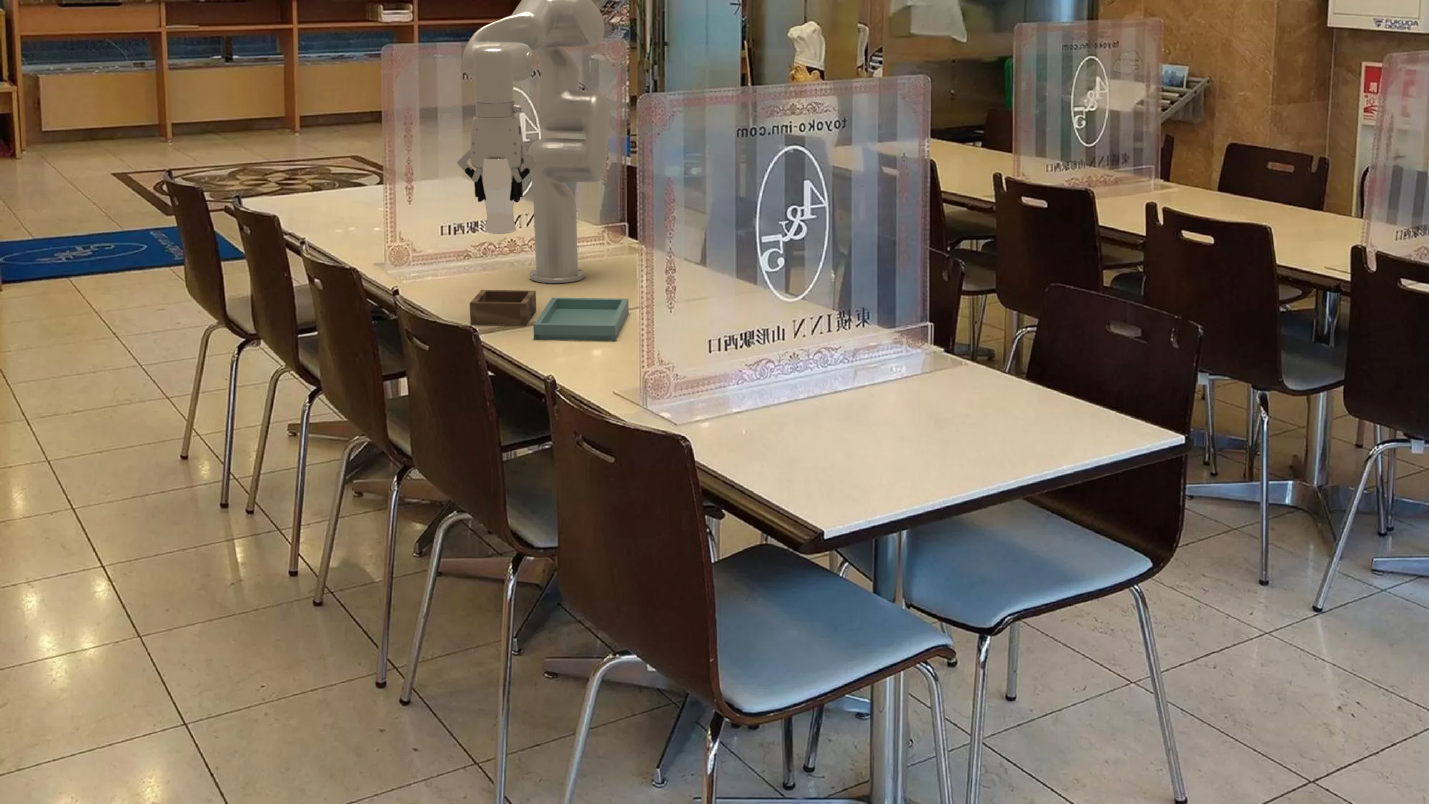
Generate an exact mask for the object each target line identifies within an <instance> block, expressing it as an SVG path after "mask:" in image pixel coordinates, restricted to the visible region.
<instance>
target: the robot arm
mask: <svg viewBox="0 0 1429 804" xmlns="http://www.w3.org/2000/svg"><path fill="white" fill-rule="evenodd" d="M604 36H605V21H604V18H603V15H602V13H601V11H600V9H599V8H598V7H597V6H596V4H595V2H593V0H521V1H520V2H519V4H518V5H517V6H516V8H515V10H514V11H513V12H512V14H511V15H509V16H505V17H503V18H501V19H499V20H496V21H494V22H491V23H489V24H486V25H484V26H483V27H482V26H481V27H480V28H478V30H476V31H475V32H474V33H473V34H472V36H471V38H470V39H469V40H468V42H467V43H466V46H465V47H464V51H463V54H462V66H463V67H462V68H463V71H464V72H465V75H467V77H469V78H470V79H473V82H474V83H473V85H474V103H475V116H474V117H473V118H472V123H471V128H470V129H471V131H470V132H471V133H470V149H469V150H468V151H467V152H466V153H465V154H464V155H463V156H462V157H461V158H460V159H459V160H457V165H458V166H459V167H460V169H462V171H464V173H465V174H466V175H467V176H468V177H469V178H470V179H471V180H472V182H473V183H474V197H475V198H477V202H478V203H481V202H483V201H484V196H483V192H482V186H481V168H482V165H483V158H488V159H504V158H507V160H508V164H509V167H510V168H511V169H512V171H513V176H514V178H515V182H514V183H513V190H514V203H519V202H520V201H521V198H523V196H524V189H523V180H524V179H525V178H526V177H527V176H528V175H530V179H531V185H532V198H533V224H534V245H535V246H534V247H535V248H534V250H535V253H534V254H535V269H532V270H531V271H530V272H529V273H528V274H529V279H530V280H531V281H534V282H537V283H545V284H564V283H573V282H577V281H581V280H582V279H585V277H586V272H585V270H584V269H581V268H579V265H578V264H579V261H578V233H577V231H578V229H577V228H578V227H577V223H578V222H577V202H576V197H575V195H574V193H573V191H572V190H571V189H570V187H569V186H568V185H567V183H597V182H601V180H603V178H604V175H605V174H606V168H607V160H608V146H609V145H608V144H609V132H610V131H609V129H610V107H609V103H608V99H607V98H606V96H605V95H604V94H603V93H602V92H599V91H597V90H583V89H582V90H581V89H580V90H579V77H580V76H579V74H580V69H579V67H578V64H577V63H576V61H575V60H574V58H573V57H572V56H571V54H570V53H569V52H568V51H567V49H566V48H567V47H568V48H569V47H570V48H594V47H596V46H598V45H599V44H601V42H602V40H603V38H604ZM565 47H566V48H565ZM535 54H536V55H535ZM536 57H537V59H538V64H539V68H540V80H539V92H538V93H539V94H538V105H537V106H538V107H537V120H538V124H539V127H540V128H541V129H542V130H543V131H545V132H548V133H554V134H573V135H574V134H578V135H585V138H566V137H565V138H564V137H562V138H561V137H546V138H539V139H537V140H536V141H533V142H532V143H531V144H530V145H529V148H528V151H527V150H525V149H524V140H523V133H522V132H523V130H522V126H521V122H520V117H519V116H515V115H516V113H517V114H518V113H521V112H522V105H521V104H517V103H516V101H515V100H514V99H515V98H514V81H516V82H522V81H525V80H528V79H529V78H530V77H532V75H533V73H534V71H535V68H536V64H537V63H536V62H537V60H536ZM469 160H470V164H471V166H472V167H471V166H470V165H469V164H468V162H469ZM525 161H526V163H527V165H526V166H525V168H524V169H523V170H521V166H522V165H523V164H524V162H525ZM474 168H475V169H474Z"/></svg>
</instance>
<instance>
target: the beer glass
mask: <svg viewBox="0 0 1429 804" xmlns="http://www.w3.org/2000/svg"><path fill="white" fill-rule="evenodd" d="M514 182H515V178H514V176H513V171H512V169H511V168H510V167H509V164H508V160H507V158H504V159H488V158H483V165H482V168H481V186H482V192H483V196H484V200H483V201H484V204H485V209H486V223H485V228H484V229H485V232H486V233H488V234H495V235H496V234H497V235H505V234H511V233H514V232H515V231H516V230H517V227H516V223H515V218H514V205H515V202H514V190H513V183H514Z"/></svg>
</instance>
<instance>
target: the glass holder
mask: <svg viewBox="0 0 1429 804" xmlns="http://www.w3.org/2000/svg"><path fill="white" fill-rule="evenodd" d="M475 295H476V296H474V298H473V299H472V300H471V301H470V302H469V318H470V326H521V327H522V326H523V327H525V326H528V324H529V323H530V322H531V320H533V318H534V315H536V314H537V291H536V290H525V289H524V290H523V289H521V290H520V289H517V290H515V289H514V290H513V289H511V290H506V289H481V290H480V291H479V292H478V293H477V294H475Z"/></svg>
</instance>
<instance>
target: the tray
mask: <svg viewBox="0 0 1429 804" xmlns="http://www.w3.org/2000/svg"><path fill="white" fill-rule="evenodd" d="M629 303H630V301H629V298H614V297H613V298H611V297H609V298H607V297H605V298H604V297H603V298H602V297H601V298H600V297H551V298H550V300H549V301H548V303H547V304H546V306H545V307H544V308H543V310H542V311H541V313H540V314H539V316H538V317H537V319H535V321H534V323H533V325H532V327H533V340H537V341H538V340H542V341H544V340H545V341H547V340H548V341H597V342H598V341H605V342H608V341H609V342H610V341H611V342H616V340H617V339H618V337H619V336H620V332H621V331H622V328H623V325H624V324H625V321H626V320H627V317H628V316H629V309H630V308H629V307H630V306H629V305H630V304H629Z"/></svg>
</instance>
